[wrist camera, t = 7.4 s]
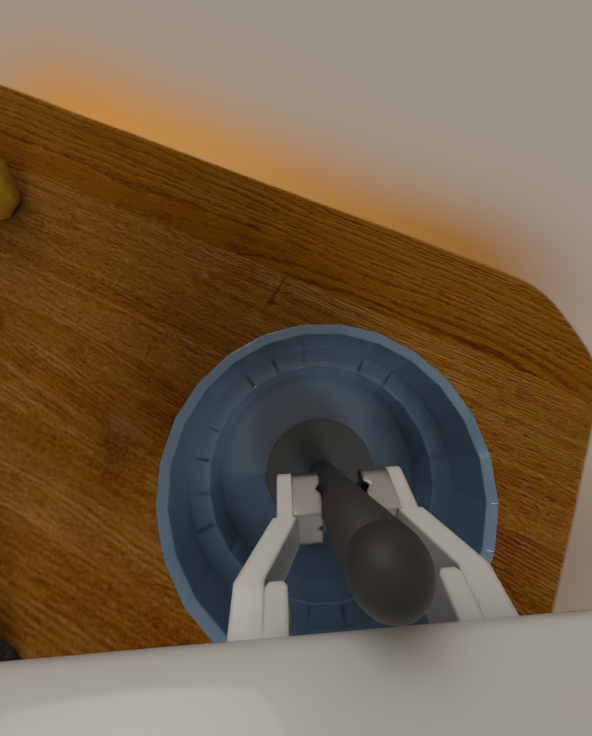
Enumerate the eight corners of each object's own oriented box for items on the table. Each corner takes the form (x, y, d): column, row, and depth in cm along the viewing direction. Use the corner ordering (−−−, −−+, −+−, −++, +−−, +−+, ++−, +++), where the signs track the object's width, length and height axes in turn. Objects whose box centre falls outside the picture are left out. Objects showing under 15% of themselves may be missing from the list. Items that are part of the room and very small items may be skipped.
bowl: (445, 384, 21) (510, 364, 15) (412, 631, 18) (478, 743, 11) (238, 333, 22) (217, 293, 16) (167, 561, 18) (101, 630, 12)
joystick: (372, 433, 20) (612, 437, 5) (354, 531, 18) (612, 944, 4) (283, 410, 20) (261, 350, 5) (258, 505, 18) (132, 792, 4)
